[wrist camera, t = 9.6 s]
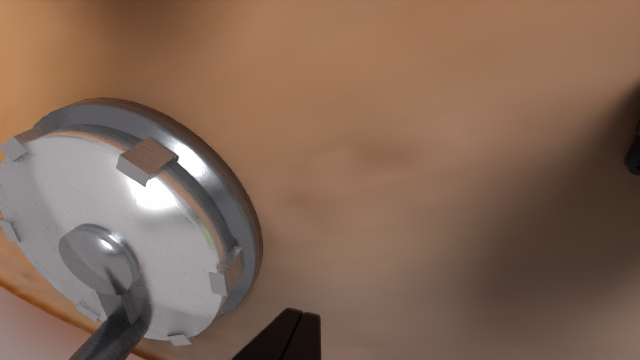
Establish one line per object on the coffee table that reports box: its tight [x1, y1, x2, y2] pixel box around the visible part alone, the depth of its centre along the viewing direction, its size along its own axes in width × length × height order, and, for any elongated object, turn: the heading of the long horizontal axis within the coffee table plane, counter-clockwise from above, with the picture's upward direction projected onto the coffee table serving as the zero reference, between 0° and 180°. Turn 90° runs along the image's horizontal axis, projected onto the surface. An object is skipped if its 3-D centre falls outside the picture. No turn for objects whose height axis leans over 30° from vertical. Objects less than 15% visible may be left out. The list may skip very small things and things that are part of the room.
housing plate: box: [33, 98, 263, 317], centre depth 27 cm, size 18×18×2 cm
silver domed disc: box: [0, 121, 245, 360], centre depth 20 cm, size 16×17×14 cm
